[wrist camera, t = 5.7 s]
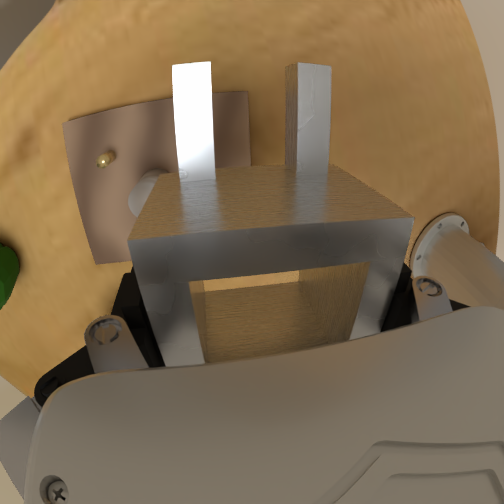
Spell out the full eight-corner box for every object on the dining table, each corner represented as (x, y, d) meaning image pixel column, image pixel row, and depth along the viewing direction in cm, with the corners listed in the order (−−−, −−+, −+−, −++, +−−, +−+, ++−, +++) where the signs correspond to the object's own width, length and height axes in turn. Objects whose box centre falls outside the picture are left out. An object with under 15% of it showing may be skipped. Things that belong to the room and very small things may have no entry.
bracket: (318, 296, 15) (360, 378, 10) (183, 312, 14) (183, 407, 9) (336, 71, 9) (430, 66, 5) (152, 73, 8) (102, 50, 4)
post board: (245, 91, 24) (256, 88, 18) (252, 240, 32) (262, 274, 26) (68, 121, 22) (36, 130, 16) (99, 257, 30) (81, 291, 24)
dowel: (115, 149, 23) (106, 154, 21) (117, 161, 24) (109, 167, 22) (104, 151, 23) (94, 156, 21) (106, 163, 24) (97, 169, 21)
